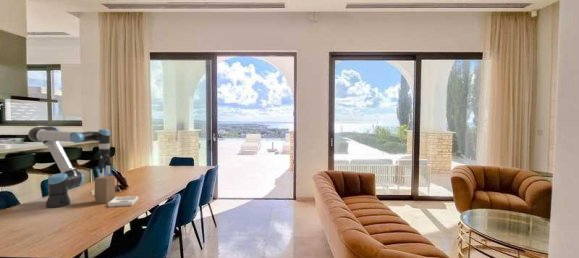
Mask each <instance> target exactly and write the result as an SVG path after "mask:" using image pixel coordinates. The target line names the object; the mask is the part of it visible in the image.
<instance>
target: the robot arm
mask: <svg viewBox="0 0 579 258" xmlns="http://www.w3.org/2000/svg"><path fill="white" fill-rule="evenodd" d="M110 132H111V131H110V129H108V128H106V129H105V128H102V129H101V128H100V129H99V130H98V131H84V132H83V131H82V132H79V131H78V132H77V131H63V130H60V129H59V128H58V127H56V126H49V125H48V126H35V127H33V128H30V129H29V131H28V133H27V134H28V135H27V136H28V138H29V140H30V141H31V142H35V143H37V142H38V143H40V142H42V143H43V145H44V146H45V147H47V148H48V150H49V152H50V154H51V156H52V158H53V160H54V161H55V164H57V165H56V166H57V167H58V169H59V171H60V173H55V174H52V175H50V176H49V177H48V181H47V185H48V187H47V189H48V197H47V200H46V202H45V207H46V208H49V209H52V208H53V209H55V208H62V207H66V206H69V205H70V204H71V203H72V201H71V198H70V197H69V194H68V193H69V192H68V189H72V188H76V187H79V186H81V185H82V184H84V182H85V181H84V180H85V175H84V172H81V171H79V170H78V169H77V168H76V167H74V166H73V163H72V162H71V161H70V159H69V157H68V155H67V153H66V151H65V148H64V147H63V145H62V143H61V142H66V143H67V142H70V143H75V144H80V143H86V142H87V143H88V142H98V153H99V160H98V167H97V169H98V170H99V176H98V177H104V176H105V174H106V175H107V174H110V175H111V166H112V161H111V155H110V154H111V139H110V138H111V133H110ZM104 166H105V170H104ZM104 171H105V173H104Z"/></svg>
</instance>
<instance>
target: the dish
mask: <svg viewBox="0 0 579 258" xmlns="http://www.w3.org/2000/svg"><path fill="white" fill-rule="evenodd" d="M137 200H138V201H139V195H136V196H135V195H133V196H132V195H131V196H129V195H128V196H115V198H114V199H112V200H111V201H110V202H109V203H107V207H109V208H111V207H113V208H116V207H115V206H117V207H133V206H132V205H133V204H134V203H135V202H136V201H137ZM138 201H137V202H138ZM137 202H136V203H137ZM136 203H135V204H136ZM135 204H134V205H135Z"/></svg>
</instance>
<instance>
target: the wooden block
mask: <svg viewBox="0 0 579 258" xmlns="http://www.w3.org/2000/svg"><path fill="white" fill-rule="evenodd" d="M115 179H116V178H115V176H113V175H112V176H111V175H104V177H100V176H98V177H95V178H94V204H104V205H105V204H106V205H108V203H109V202H110V201H111V200H112V199H114V198H115V197H116V195H115V194H116V192H115V191H116V190H115V189H116V188H115V185H116V183H115Z"/></svg>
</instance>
